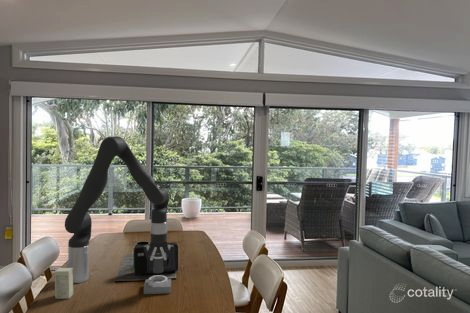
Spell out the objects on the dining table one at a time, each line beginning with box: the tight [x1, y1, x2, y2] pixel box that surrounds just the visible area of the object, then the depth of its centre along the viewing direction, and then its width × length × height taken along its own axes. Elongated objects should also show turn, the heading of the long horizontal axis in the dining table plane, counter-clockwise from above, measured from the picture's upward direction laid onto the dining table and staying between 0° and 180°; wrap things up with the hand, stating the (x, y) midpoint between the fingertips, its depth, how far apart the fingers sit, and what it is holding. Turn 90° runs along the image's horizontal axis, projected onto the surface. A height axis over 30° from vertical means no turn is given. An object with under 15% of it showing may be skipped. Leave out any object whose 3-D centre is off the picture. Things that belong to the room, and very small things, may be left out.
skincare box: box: [54, 267, 74, 300], centre depth 152 cm, size 6×4×12 cm
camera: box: [133, 241, 179, 276], centre depth 180 cm, size 23×10×15 cm, turn 105°
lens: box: [153, 253, 164, 274], centre depth 161 cm, size 5×5×8 cm
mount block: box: [143, 274, 172, 295], centre depth 162 cm, size 12×9×5 cm
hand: (158, 267), depth 161 cm, fingers closed on lens, 4 cm apart
